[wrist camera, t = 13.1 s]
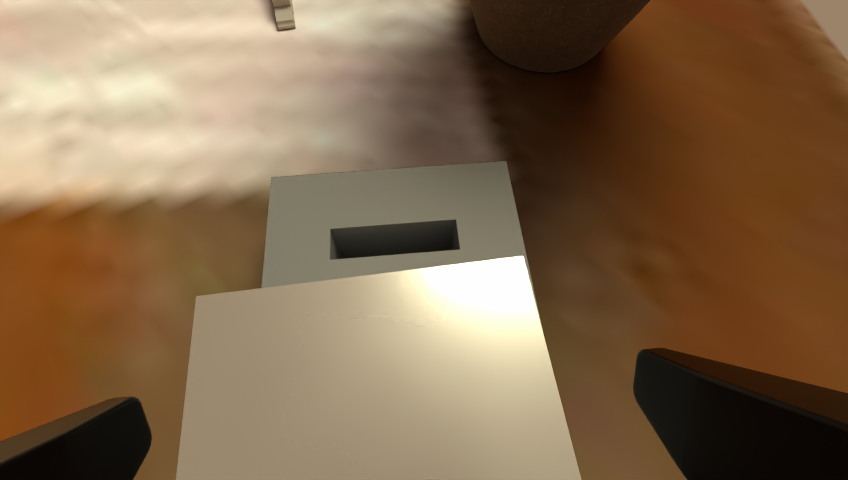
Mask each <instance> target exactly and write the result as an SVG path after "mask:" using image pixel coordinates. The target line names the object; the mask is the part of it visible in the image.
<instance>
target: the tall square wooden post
mask: <svg viewBox="0 0 848 480" xmlns="http://www.w3.org/2000/svg"><path fill="white" fill-rule="evenodd" d="M176 480H581V476H580V473H579V469H578V465H577V461H576V457H575V453H574V450H573V446H572V442H571V438H570V434H569V430H568V427H567V423H566V419H565V415H564V411H563V407H562V404H561V400H560V396H559V392H558V388H557V384H556V381H555V377H554V373H553V369H552V365H551V361H550V358H549V354H548V350H547V346H546V342H545V338H544V335H543V331H542V327H541V323H540V319H539V315H538V311H537V308H536V304H535V300H534V296H533V292H532V288H531V285H530V281H529V277H528V273H527V269H526V265H525V262H524V258H523V256H519V257H511V258H503V259H494V260H486V261H478V262H470V263H462V264H454V265H446V266H438V267H430V268H421V269H413V270H405V271H397V272H389V273H381V274H373V275H365V276H357V277H348V278H340V279H332V280H324V281H316V282H308V283H300V284H292V285H284V286H276V287H267V288H259V289H251V290H243V291H235V292H227V293H219V294H211V295H203V296H196V303H195V312H194V321H193V330H192V339H191V349H190V358H189V367H188V376H187V385H186V394H185V403H184V412H183V421H182V430H181V439H180V448H179V458H178V467H177V476H176Z"/></svg>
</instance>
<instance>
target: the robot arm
mask: <svg viewBox="0 0 848 480" xmlns="http://www.w3.org/2000/svg"><path fill="white" fill-rule="evenodd" d="M633 390H634V395H635V398H636V401H637V403H638V405H639V406H640V408H641V409H642V411H643V413H644V414H645V416H646V417H647V419H648V421H649V422H650V424H651V425H652V427H653V429H654V430H655V432H656V433H657V435H658V436H659V438H660V440H661V441H662V443H663V444H664V446H665V448H666V449H667V451H668V452H669V454H670V456H671V457H672V459H673V460H674V462H675V463H676V465H677V466H678V468H679V469H680V471H681V472H682V473H683V475H684V476H685V477H686V479H687V480H848V393H844V392H840V391H836V390H832V389H828V388H824V387H820V386H816V385H812V384H807V383H803V382H799V381H795V380H791V379H787V378H783V377H779V376H775V375H771V374H767V373H763V372H759V371H754V370H750V369H746V368H742V367H738V366H734V365H730V364H726V363H722V362H718V361H714V360H710V359H706V358H701V357H697V356H693V355H689V354H685V353H681V352H677V351H673V350H669V349H665V348H653V349H643V350H641V351H640V352H639V353H638V355H637V360H636V368H635V376H634V384H633ZM151 440H152V436H151V430H150V427H149V425H148V422H147V419H146V416H145V413H144V410H143V407H142V405H141V402H140V401H139V399H137V398H136V397H120V398H112V399H108V400H106V401H103V402H101V403H98V404H95V405H93V406H90V407H88V408H85V409H83V410H80V411H77V412H75V413H72V414H70V415H67V416H65V417H62V418H59V419H57V420H54V421H52V422H49V423H47V424H44V425H41V426H39V427H36V428H34V429H31V430H29V431H26V432H24V433H21V434H18V435H16V436H13V437H11V438H8V439H6V440H3V441H0V480H133V479H134V477H135V475H136V473H137V472H138V470H139V468H140V466H141V464H142V462H143V460H144V459H145V457H146V455H147V453H148V451H149V449H150V445H151Z"/></svg>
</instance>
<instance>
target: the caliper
mask: <svg viewBox="0 0 848 480" xmlns="http://www.w3.org/2000/svg"><path fill="white" fill-rule="evenodd" d="M272 3H273V6H274V10H275V16H276V22H277V26H278V30H282V29H289V28H295V22H294V16H293V14H294V13H293V5H292V0H272Z"/></svg>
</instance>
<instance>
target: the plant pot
mask: <svg viewBox="0 0 848 480" xmlns="http://www.w3.org/2000/svg"><path fill="white" fill-rule="evenodd" d="M469 1H470V4H471V8H472V12H473V15H474V18H475V22H476V25H477V28H478V32H479V34H480V37H481V39H482V41H483V43H484V44H485V45H486V47H487V48H488V49H489V50H490V51H491V52H492V53H493V54H494V55H495V56H497V57H498V58H500V59H501V60H503V61H505V62H506V63H508V64H510V65H513V66H516V67H518V68H521V69H525V70H529V71H536V72H559V71H566V70H570V69H573V68H576V67H578V66H581V65H583V64H585V63H587V62H588V61H589V60H590V59H592V58H593V57H594V56H595V55H596V54H597V53H598V52H600V51H601V50H602V49H603V48H604V47H605V46H606V45H607V44H608V43H609V42H610V41H611V40H612V39H613V38H614V37H615V36H616V35H617V34H618V33H619V32H620V31H621V30H622V29H623V28H624V27H625V26H626V25H627V24H628V23H629V22H630V21H631V20H632V19H633V18H634V17H635V16H636V15H637V14H638V13H639V12H640V11H641V10H642V9H643V8H644V6H645V5H646V4H647V3H648V2H649V1H650V0H469Z"/></svg>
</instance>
